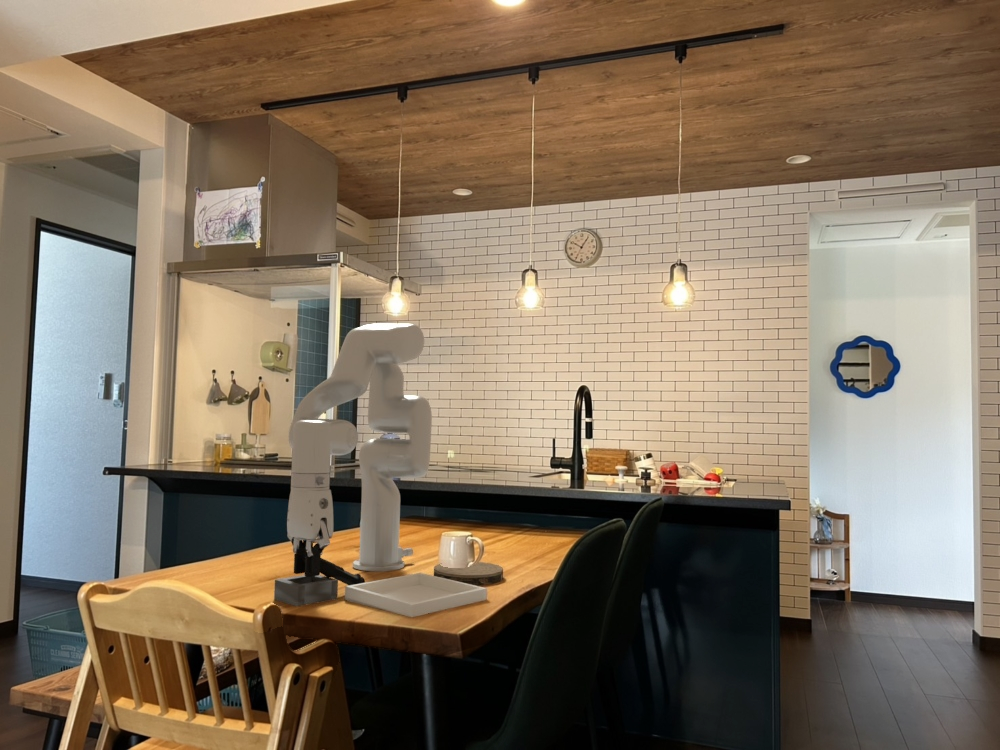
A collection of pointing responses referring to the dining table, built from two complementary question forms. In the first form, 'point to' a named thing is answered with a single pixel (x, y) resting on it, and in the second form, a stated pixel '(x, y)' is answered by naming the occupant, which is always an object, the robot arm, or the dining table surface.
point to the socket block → (305, 589)
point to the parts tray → (414, 594)
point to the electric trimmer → (338, 572)
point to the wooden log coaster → (472, 573)
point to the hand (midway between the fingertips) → (306, 573)
